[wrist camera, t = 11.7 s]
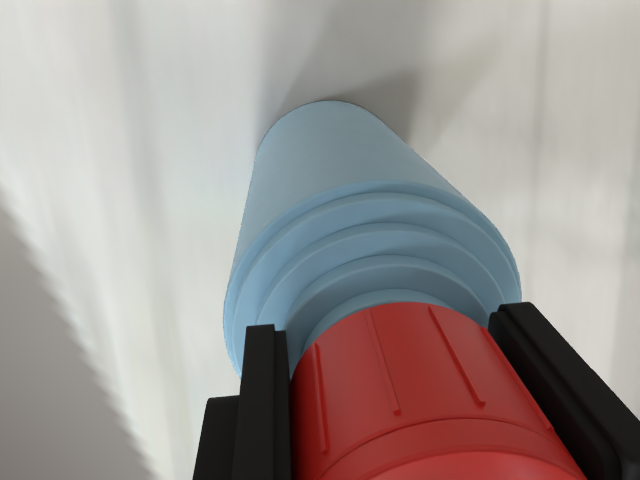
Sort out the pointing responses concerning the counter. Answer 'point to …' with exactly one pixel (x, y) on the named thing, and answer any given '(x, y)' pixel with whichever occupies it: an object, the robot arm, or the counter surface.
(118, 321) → the counter surface
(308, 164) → the bottle
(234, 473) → the robot arm
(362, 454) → the cap
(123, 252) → the counter surface
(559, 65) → the counter surface
